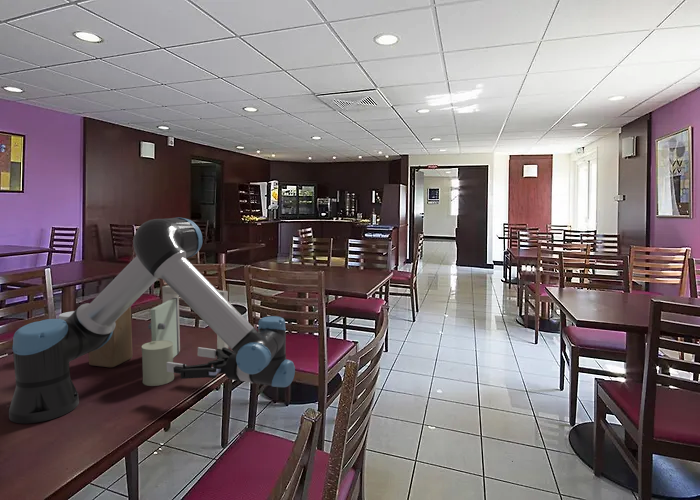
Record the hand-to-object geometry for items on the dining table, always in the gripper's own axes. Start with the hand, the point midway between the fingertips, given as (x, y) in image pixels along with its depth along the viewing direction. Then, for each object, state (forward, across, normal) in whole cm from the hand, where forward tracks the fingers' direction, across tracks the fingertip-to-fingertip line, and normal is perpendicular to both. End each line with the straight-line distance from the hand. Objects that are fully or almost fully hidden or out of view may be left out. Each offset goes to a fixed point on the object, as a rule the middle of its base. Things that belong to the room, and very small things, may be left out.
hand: (183, 358), depth 128 cm
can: (+10, 0, -8) cm, 13 cm away
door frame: (+14, +22, -8) cm, 28 cm away
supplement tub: (+58, +9, -8) cm, 59 cm away
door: (+18, +13, -8) cm, 24 cm away
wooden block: (+36, +6, -8) cm, 38 cm away
